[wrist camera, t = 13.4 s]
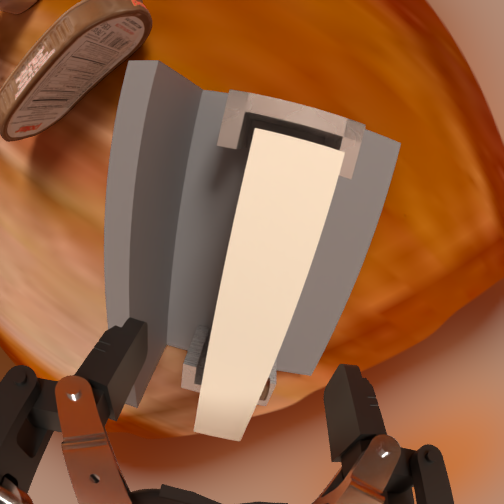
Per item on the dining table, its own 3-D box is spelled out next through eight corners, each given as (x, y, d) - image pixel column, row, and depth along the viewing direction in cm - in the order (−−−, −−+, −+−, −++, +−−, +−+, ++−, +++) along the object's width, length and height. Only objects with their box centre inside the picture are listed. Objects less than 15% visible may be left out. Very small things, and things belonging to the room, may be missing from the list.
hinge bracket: (154, 330, 26) (117, 400, 18) (185, 90, 18) (124, 60, 9) (309, 365, 27) (318, 443, 18) (392, 142, 18) (467, 150, 9)
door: (218, 337, 24) (193, 431, 15) (263, 135, 18) (255, 127, 8) (262, 347, 24) (255, 443, 15) (322, 150, 18) (372, 161, 8)
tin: (157, 11, 15) (108, -32, 7) (172, 34, 16) (124, -9, 8) (38, 118, 19) (-26, 124, 11) (48, 142, 20) (-17, 154, 12)
